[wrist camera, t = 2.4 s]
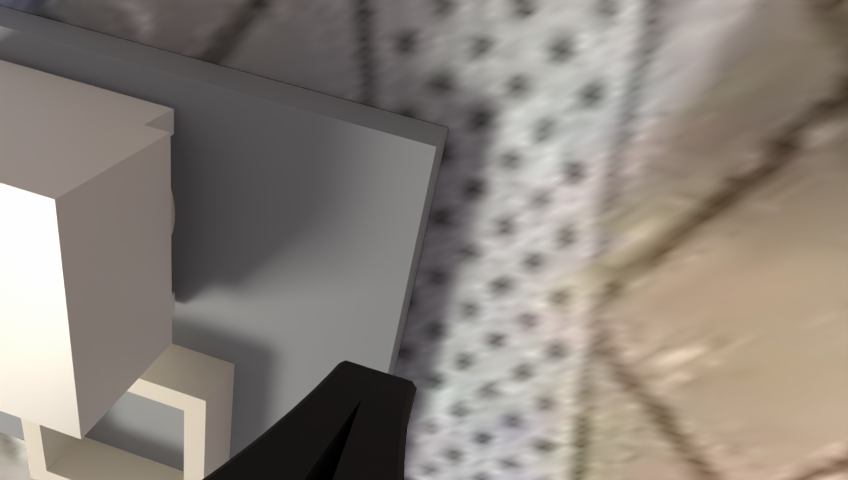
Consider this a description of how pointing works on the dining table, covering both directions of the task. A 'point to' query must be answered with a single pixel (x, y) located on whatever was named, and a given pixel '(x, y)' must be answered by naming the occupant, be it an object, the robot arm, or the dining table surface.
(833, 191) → the dining table surface
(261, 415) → the board
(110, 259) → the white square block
